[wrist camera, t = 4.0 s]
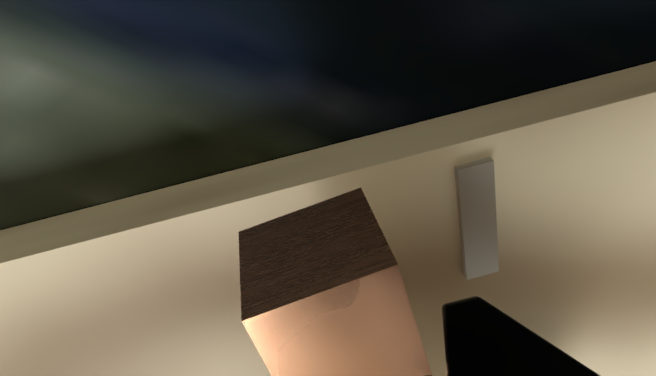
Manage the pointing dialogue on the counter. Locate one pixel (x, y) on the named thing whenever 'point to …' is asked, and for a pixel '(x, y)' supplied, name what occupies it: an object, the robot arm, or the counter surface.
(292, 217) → the handle
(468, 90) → the counter surface
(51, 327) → the coupling base
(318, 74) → the counter surface
